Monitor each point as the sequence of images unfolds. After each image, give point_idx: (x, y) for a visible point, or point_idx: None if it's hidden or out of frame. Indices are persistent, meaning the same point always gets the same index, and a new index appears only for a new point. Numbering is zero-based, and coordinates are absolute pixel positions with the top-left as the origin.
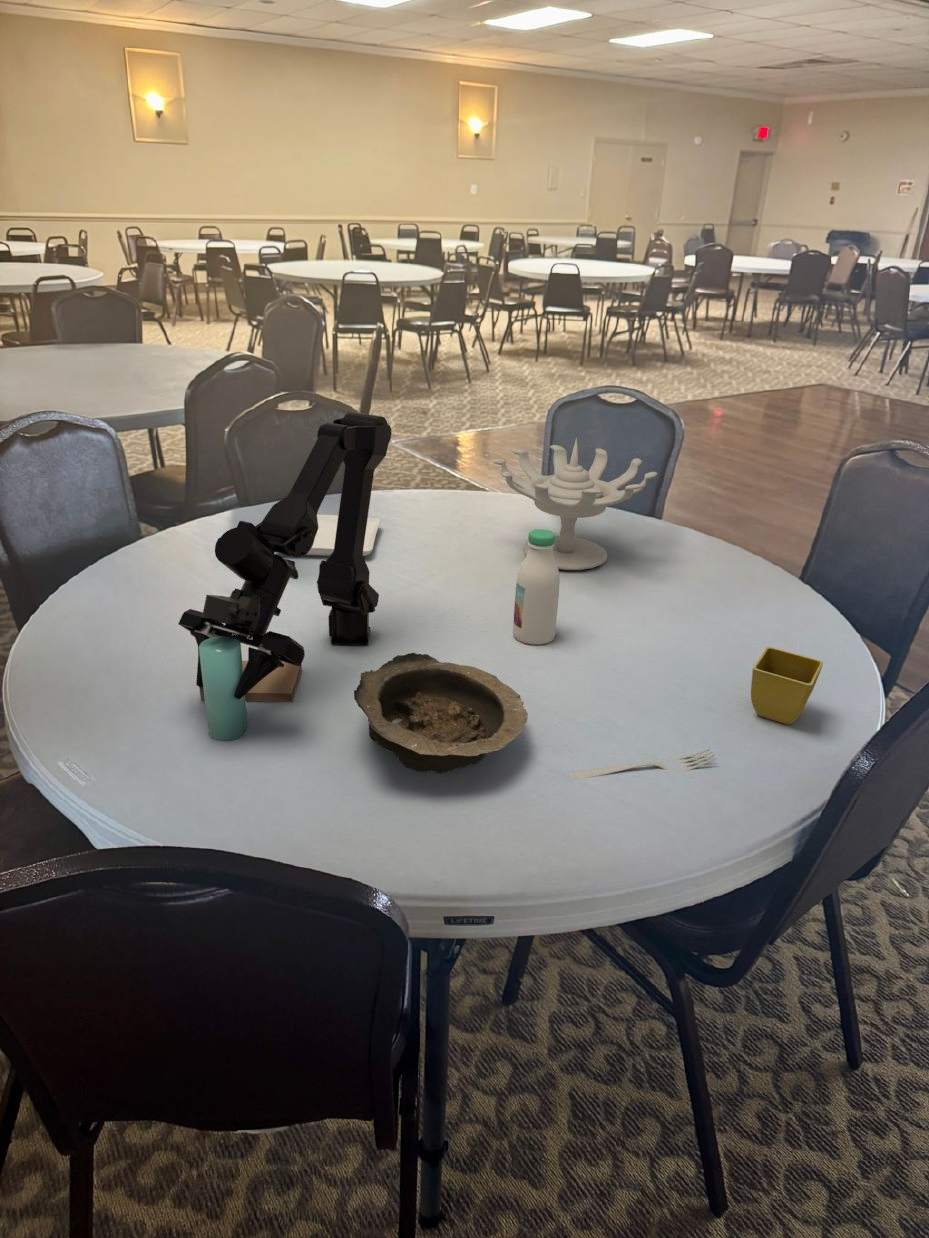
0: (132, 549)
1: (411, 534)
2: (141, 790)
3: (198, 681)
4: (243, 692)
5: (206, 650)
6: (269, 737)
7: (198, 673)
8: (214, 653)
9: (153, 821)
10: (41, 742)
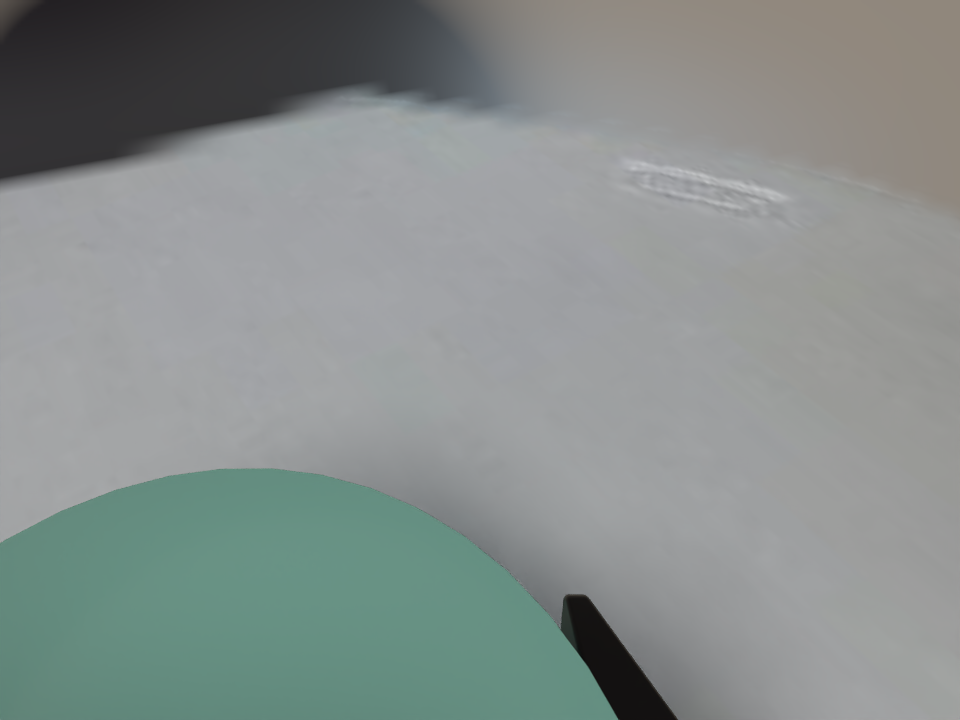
0: None
1: None
2: (460, 208)
3: (576, 610)
4: None
5: (322, 589)
6: None
7: (618, 662)
8: (96, 562)
9: (337, 139)
10: (938, 238)
